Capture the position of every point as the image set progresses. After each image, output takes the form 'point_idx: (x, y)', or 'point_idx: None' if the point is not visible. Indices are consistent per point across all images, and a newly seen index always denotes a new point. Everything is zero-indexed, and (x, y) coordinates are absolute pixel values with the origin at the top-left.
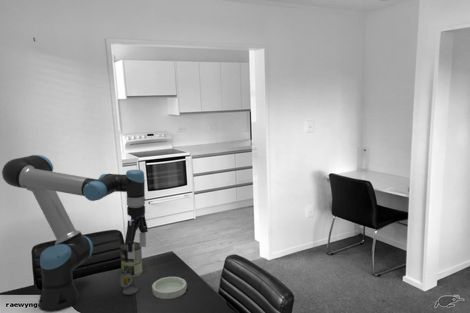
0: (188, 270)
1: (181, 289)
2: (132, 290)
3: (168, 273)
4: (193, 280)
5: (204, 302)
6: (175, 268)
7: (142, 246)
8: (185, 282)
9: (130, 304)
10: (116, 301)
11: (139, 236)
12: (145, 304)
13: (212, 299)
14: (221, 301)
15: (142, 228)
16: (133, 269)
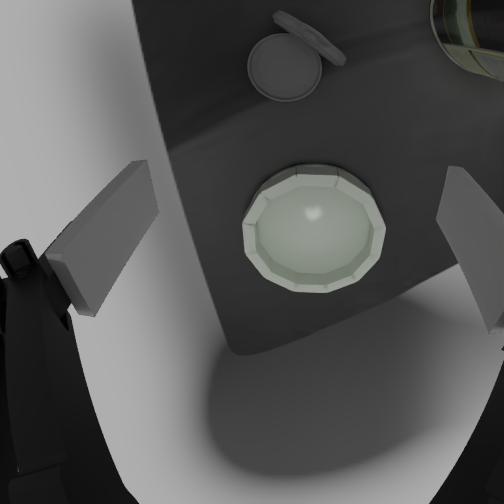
0: None
1: (281, 284)
2: (297, 72)
3: None
4: (390, 283)
5: (250, 324)
6: None
7: (443, 194)
8: (331, 289)
9: (185, 113)
10: (194, 46)
11: (502, 233)
12: (198, 169)
13: (268, 337)
14: (261, 351)
15: (495, 399)
16: (453, 41)
